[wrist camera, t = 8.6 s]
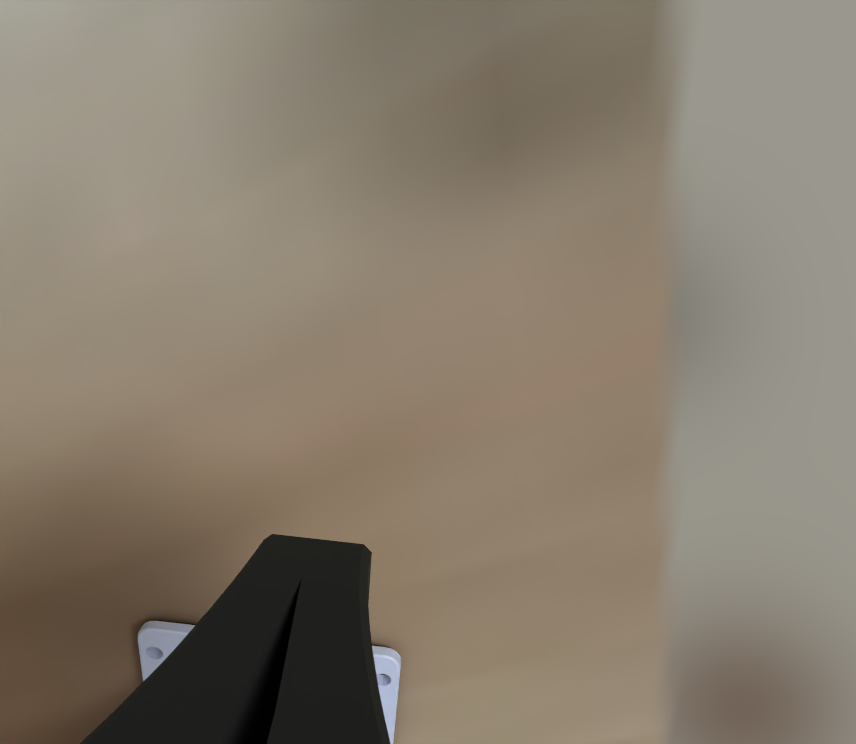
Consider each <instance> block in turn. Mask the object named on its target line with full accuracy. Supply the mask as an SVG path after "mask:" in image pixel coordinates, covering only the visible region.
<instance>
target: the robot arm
mask: <svg viewBox="0 0 856 744" xmlns="http://www.w3.org/2000/svg"><path fill="white" fill-rule="evenodd" d="M371 554H372V552H371V551H370V550H369V549H368V548H367V547H366V546H365V545H364V544H355V543H347V542H338V541H329V540H320V539H311V538H302V537H294V536H285V535H276V534H272V535H270V536H269V537H267V538H266V539H264V540H263V542H262V543H261V544H260V546H259V547H258V549H257V550H256V552H255V553H254V554H253V556H252V557H251V558H250V560H249V561H248V562H247V564H246V565H245V566H244V568H243V569H242V570H241V571H240V573H239V574H238V575H237V577H236V578H235V579H234V580H233V582H232V583H231V584H230V585H229V587H228V588H227V589H226V590H225V591H224V593H223V594H222V595H221V596H220V597H219V599H218V600H217V601H216V602H215V604H214V605H213V606H212V607H211V608H210V610H209V611H208V612H207V613H206V614H205V615H204V616H203V617H202V619H201V620H200V621H199V622H198V623H197V624H196V625H189V624H180V623H171V622H163V621H149V622H146V623H144V625H143V626H142V627H141V629H140V631H139V633H138V638H137V639H138V647H139V655H140V662H141V670H142V678H143V683H142V684H141V685H140V686H139V687H138V688H137V689H136V690H135V691H134V692H133V693H132V694H131V695H130V696H129V697H128V698H127V699H126V700H125V701H124V702H123V703H122V704H121V705H120V706H119V707H118V708H117V709H116V710H115V711H114V712H113V713H112V714H111V715H110V716H109V717H108V718H107V719H106V720H105V721H103V722H102V723H101V724H100V725H99V726H98V727H97V728H96V729H95V730H94V731H93V732H92V733H91V734H90V735H89V736H88V737H86V738H85V739H84V740H83V741H82V742H81V743H80V744H393V740H394V730H395V720H396V709H397V699H398V689H399V679H400V668H401V657H400V655H399V654H398V653H397V652H396V651H394V650H393V649H391V648H387V647H379V646H372V643H371V634H370V624H369V610H368V600H369V585H370V569H371ZM155 647H156V648H155ZM158 648H159V649H158ZM381 674H386V675H381Z"/></svg>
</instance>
